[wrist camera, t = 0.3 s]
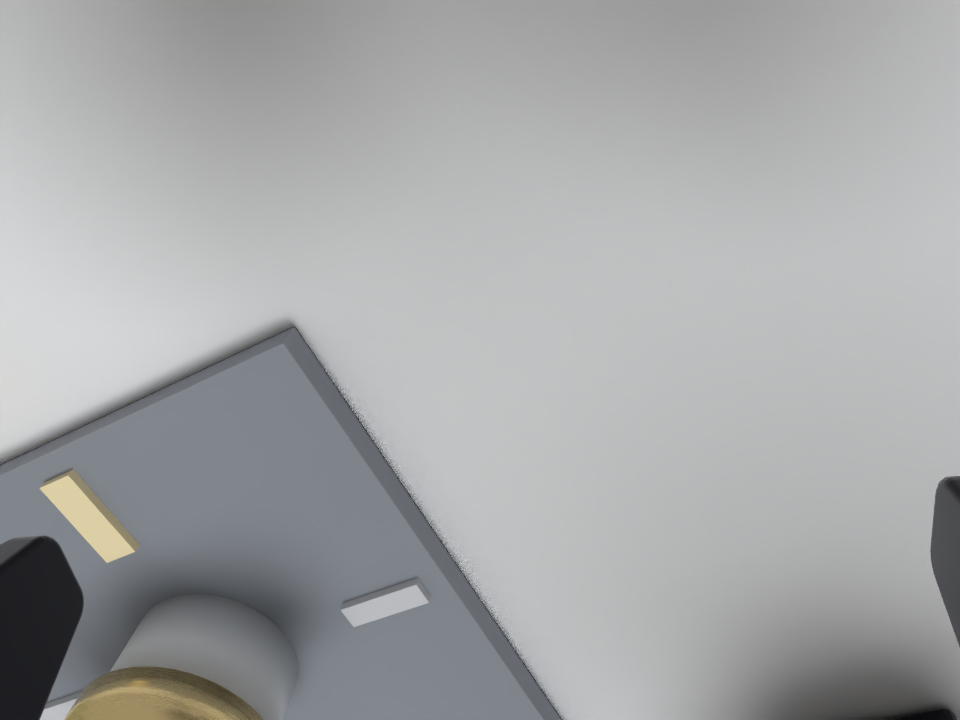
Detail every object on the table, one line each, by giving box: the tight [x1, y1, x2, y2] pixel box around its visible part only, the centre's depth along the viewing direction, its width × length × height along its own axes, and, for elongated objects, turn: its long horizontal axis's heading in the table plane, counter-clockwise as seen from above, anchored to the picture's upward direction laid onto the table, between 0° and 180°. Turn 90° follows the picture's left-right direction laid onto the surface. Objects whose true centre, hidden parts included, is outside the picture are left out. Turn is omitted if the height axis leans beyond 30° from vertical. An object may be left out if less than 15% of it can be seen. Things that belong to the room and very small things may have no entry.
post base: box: [0, 327, 561, 720], centre depth 27 cm, size 18×18×4 cm
